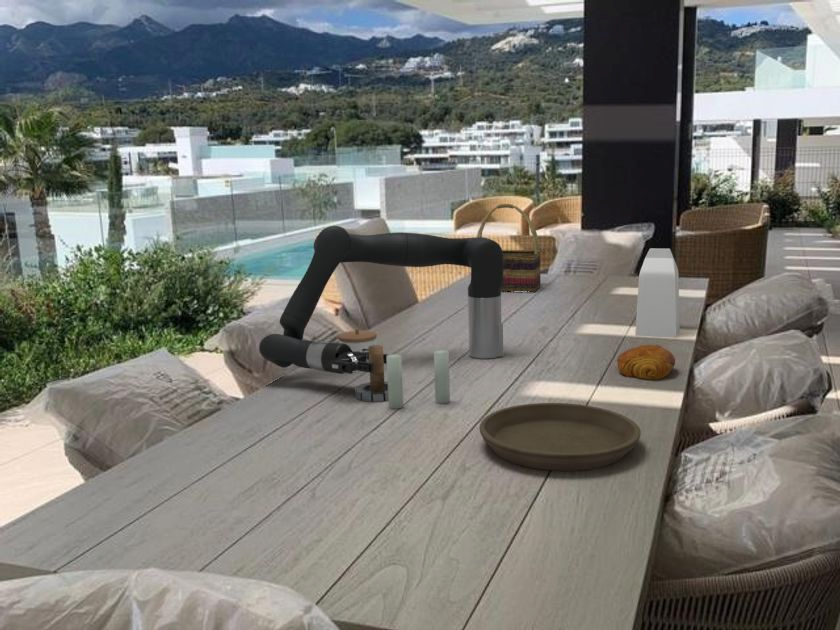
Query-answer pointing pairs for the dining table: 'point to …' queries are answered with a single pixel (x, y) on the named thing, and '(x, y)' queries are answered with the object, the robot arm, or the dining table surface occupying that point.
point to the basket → (519, 261)
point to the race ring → (370, 393)
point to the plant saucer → (559, 435)
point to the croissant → (646, 362)
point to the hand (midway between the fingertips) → (383, 363)
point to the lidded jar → (358, 339)
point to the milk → (658, 296)
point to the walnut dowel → (377, 368)
